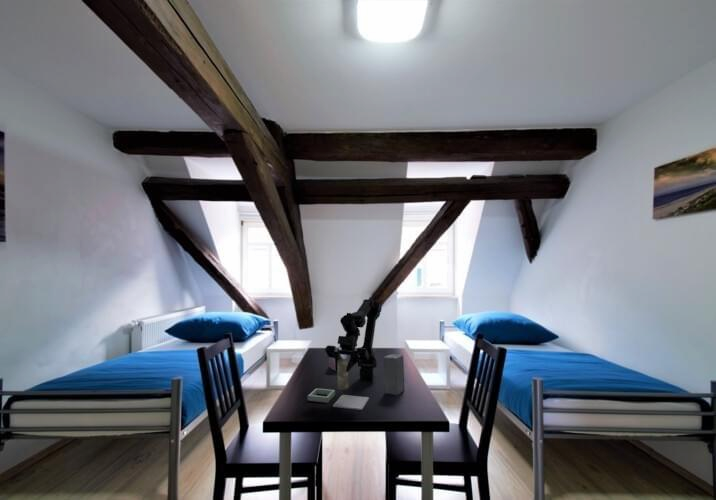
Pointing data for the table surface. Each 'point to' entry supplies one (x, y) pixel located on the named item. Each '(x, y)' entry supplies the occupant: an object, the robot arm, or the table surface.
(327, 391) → the green collar
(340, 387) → the ash peg
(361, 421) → the table surface
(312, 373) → the table surface
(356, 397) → the rubber mat
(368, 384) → the table surface
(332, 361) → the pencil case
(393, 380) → the skincare box
